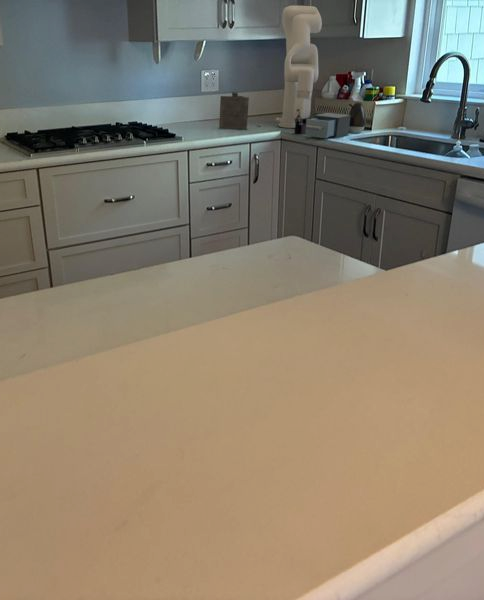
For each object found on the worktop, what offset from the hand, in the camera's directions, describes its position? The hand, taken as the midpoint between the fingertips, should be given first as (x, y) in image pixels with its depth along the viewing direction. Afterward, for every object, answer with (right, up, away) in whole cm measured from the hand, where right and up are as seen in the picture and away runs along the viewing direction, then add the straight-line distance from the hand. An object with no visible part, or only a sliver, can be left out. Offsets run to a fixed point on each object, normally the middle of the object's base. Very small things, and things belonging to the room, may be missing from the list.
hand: (300, 132), depth 309 cm
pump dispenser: (+29, +2, +7) cm, 30 cm away
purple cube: (0, -1, 0) cm, 1 cm away
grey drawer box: (+14, -3, -3) cm, 15 cm away
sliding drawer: (+7, -6, -13) cm, 16 cm away
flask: (-34, +4, +7) cm, 35 cm away
